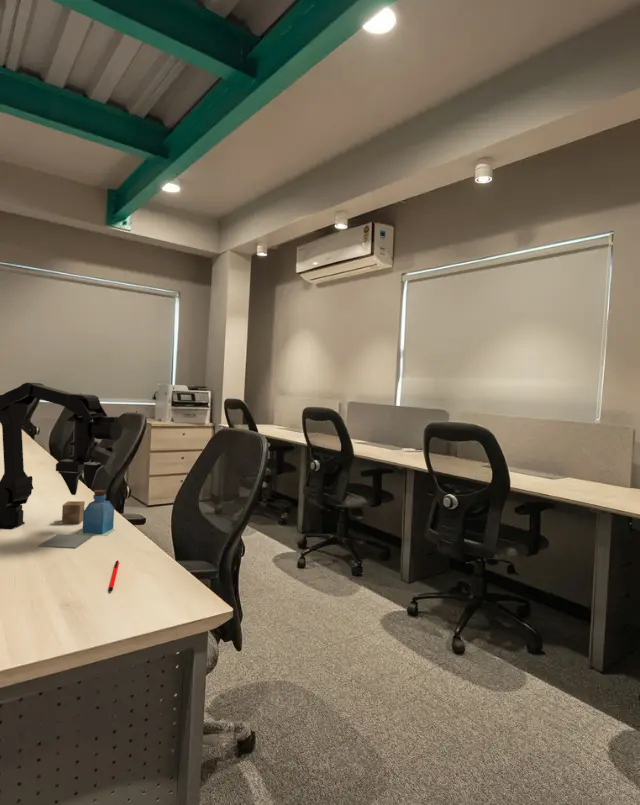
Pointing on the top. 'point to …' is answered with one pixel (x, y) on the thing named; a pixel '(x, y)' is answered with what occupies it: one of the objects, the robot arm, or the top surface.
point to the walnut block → (73, 512)
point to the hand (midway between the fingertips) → (81, 491)
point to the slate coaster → (65, 541)
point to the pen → (113, 576)
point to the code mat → (96, 534)
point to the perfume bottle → (98, 515)
